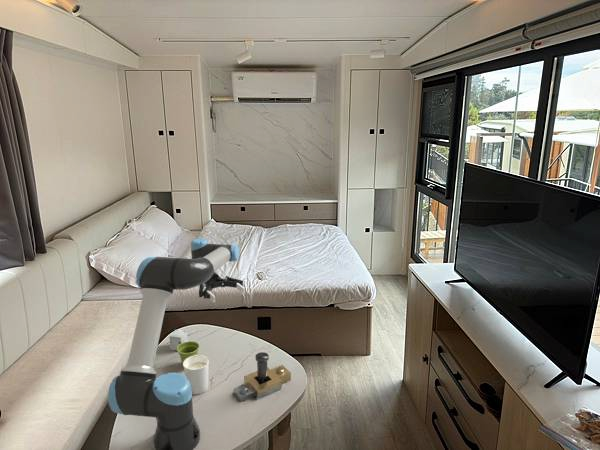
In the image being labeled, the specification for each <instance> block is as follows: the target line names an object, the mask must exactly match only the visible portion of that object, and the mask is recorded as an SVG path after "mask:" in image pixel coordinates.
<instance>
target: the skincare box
mask: <svg viewBox="0 0 600 450" xmlns="http://www.w3.org/2000/svg"><path fill="white" fill-rule="evenodd" d="M184 342H189V340H188V331H187V330H183V329H182V330H181V329H175V330H174V331H172V333H171V334H169V348H170V350H171V351H177V347H178V346H179V345H180V344H182V343H184Z"/></svg>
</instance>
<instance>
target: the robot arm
mask: <svg viewBox="0 0 600 450" xmlns="http://www.w3.org/2000/svg"><path fill="white" fill-rule="evenodd" d="M190 254H191V258H188V257H187V258H185V257H182V258H180V257H165V256H164V257H163V256H150V257H146V258H145V259H143V260H142V261H141V262H140V264H138V265H139V266H138V268H137V271H136V274H135V278H136V280H135V282H136V285H137V286H138V287H139V292H140V294H141V295H142V296H141V297H142V298H141V302H140V303H141V304H140V306H139V310H138V314H137V315H138V316H137V320H136V324H135V329H134V332H133V338H132V342H131V347H130V351H129V355H128V359H127V364H126V365H125V367H123V368H121V369H120V372H119V375H117V376H114V378H113V379H112V381H111V382H110V384H109V387H108V392H107V393H108V395H107V401H108V402H107V403H108V405H109V408H110V410H111V411H112V412H113V413H115V414H119V415H123V416H135V417H139V416H140V417H147V418H156V423H157V426H156V428H155V431H154V432H155V433H154V435H153V446H154V450H194V449H195V448H196V447H197V446H198V444H199V443H200V440H201V430H200V429H201V428H200V426H199V424H198V422H197V420H196V419H195V417H194V407H193V394H192V390H191V385H190V382H189V380H188V379H187V378H186V377H185V374H182V373H179V372H167V373H162V374H161V375H159V376H157V374H158V373H157V371H156V370H155V368H154V367H155V362H156V361H155V360H156V357H157V351H158V347H159V341H160V337H161V333H162V326H163V322H164V316H165V311H166V307H167V301H168V299H170V298H172V297H173V294H174V290H178V291H185V290H189V289H194V288H196V287H199V289H198V297H199V298H203V299H205V300H206V299H207V300H208V299H209V300H210V301H211V302H212V303H216V296H215V295H214V294H213V293H212V292H211V291H213V290H214V289H217V288H226V287H227V288H234V289H235V288H236V290H237V291H239V292H240V293H241V294H242V295H246V288H245V286H244V281H243V280H242V279H237V278H234V277H229V276H228V275H226V276H224V278H221V277H220V275H219V274H218V273H217V272H216V271H218V270H219V269H220V268H221V267H223V266H224V265H225V264H227V263H228V262H237V261H238V260H239V257H240V248H239V246H238V245H237V244H222V243H221V244H218V243H217V244H215V243H208V240H207V239H206V238H202V237H200V238H199V237H198V238H194V239H192V240H191V241H190Z"/></svg>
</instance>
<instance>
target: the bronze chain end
mask: <svg viewBox="0 0 600 450" xmlns="http://www.w3.org/2000/svg"><path fill="white" fill-rule="evenodd" d="M267 374H268V380H269V381H267V382H265V383H263V384H259V383H258V382H257V381H256V380H258V374H257V371H254V372H251V373H250V374H246V375H244V376H243V378H244V380H243V382H244V381H245V382H246V383H247V384H248V385H249V386H250V387H251V388H252V389H253V391H254V392H255V393H256V394H257V395H259V394H261V393H263V392H266V391H268V390H270V389H273V388H275V387H277V386H279V385H282V384H285V383H288V382H290V381H291V379H292V378H291V377H292V373H291V371H290V370H289V369H288V368H286V366H284V365H283V364H281V365H278V366H277V367H276V366H275V367H274V368H271V369H270V368H269V367H268V366H267Z"/></svg>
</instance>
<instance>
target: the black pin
mask: <svg viewBox="0 0 600 450" xmlns="http://www.w3.org/2000/svg"><path fill="white" fill-rule="evenodd" d="M269 357H270V356H269V354H268V353H267V352H265V351H264V352H262V351H261V352H258V353H256V354H255V361H256V363H257V364H256V367H257V369H256V370H257V374H258V383H259V384H263V383H265V382H267V381H268V374H267V367H268V361H269V359H270V358H269Z"/></svg>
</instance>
